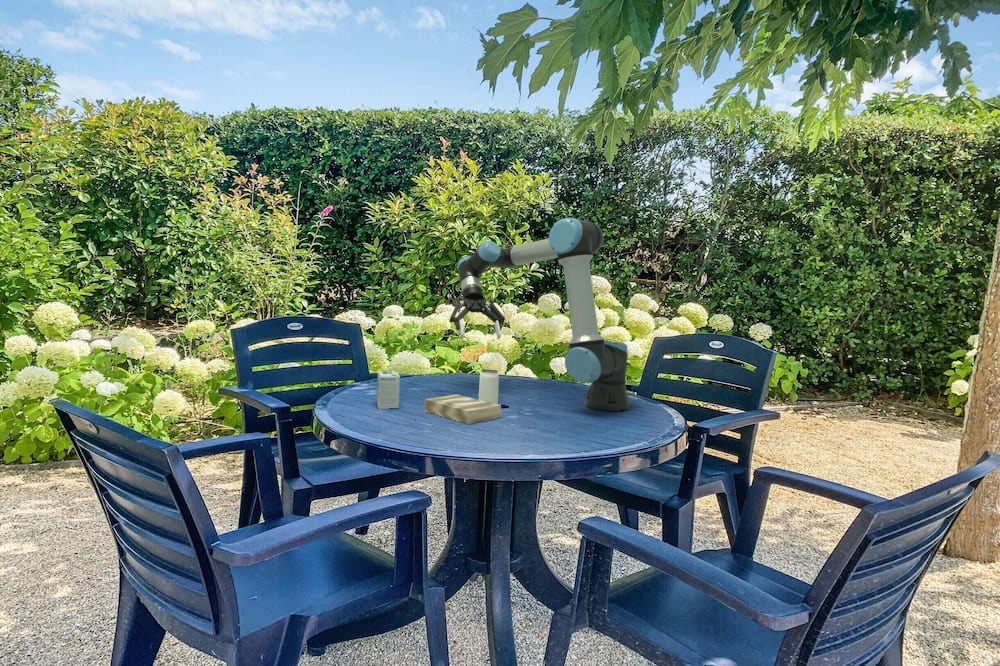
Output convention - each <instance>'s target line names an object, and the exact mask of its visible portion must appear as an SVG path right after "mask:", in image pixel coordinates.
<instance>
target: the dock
mask: <svg viewBox="0 0 1000 666" xmlns="http://www.w3.org/2000/svg"><path fill="white" fill-rule="evenodd" d="M423 409H424V411H423V412H424V413H426V412H428V413H427V414H430V413H431V414H430V415H433V414H434V415H433V416H437V415H438V416H437V417H440V416H442V417H441V418H444V417H446V418H445V419H447V418H449V419H448V420H451V419H452V420H451V421H454V420H456V421H455V422H458V421H459V422H458V423H461V422H462V424H465V425H468V424H469V425H473V424H477V422H478V423H481V422H482V421H483V422H486V421H491V419H492V420H496V419H501V414H502V413H501V411H502V405H501V404H495V403H491V402H486V401H482V400H479V398H478V399H477V398H473V397H469V396H465V395H460V394H451V395H446V396H439V397H433V398H425V399H424V408H423Z"/></svg>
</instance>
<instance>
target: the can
mask: <svg viewBox="0 0 1000 666" xmlns="http://www.w3.org/2000/svg"><path fill="white" fill-rule="evenodd" d="M499 378H500V375H499V372H498V370H496V369H481V372H480V374H479V384H478V386H479V387H478V388H479V389H478V400H482V401H486V402H491V403H495V404H498V403H499V402H498V401H499V384H500V383H499V382H500V379H499Z"/></svg>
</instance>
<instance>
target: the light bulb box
mask: <svg viewBox="0 0 1000 666" xmlns="http://www.w3.org/2000/svg"><path fill="white" fill-rule="evenodd" d="M376 372H377V373H376V376H377V378H376V404H377V408H379V409H378V410H390V409H389V408H400V384H401V383H400V381H401V376H400V374H399V373H398V371H397V370H377V371H376Z"/></svg>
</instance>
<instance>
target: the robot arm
mask: <svg viewBox="0 0 1000 666" xmlns="http://www.w3.org/2000/svg"><path fill="white" fill-rule="evenodd" d="M603 242H604V232H603V231H602V228H600V226H599V225H598V224H597V223H595V222H592V221H589V220H583V219H582V220H581V219H577V218H575V217H569V218H568V217H566V218H561V219H559V220H557V221H556V222H555V223H554V225H553V226H552V227H551V228H550V231H549V234H548V238H544V239H540V240H536V241H531V242H528V243H523V244H519V245H515V246H509V247H505V248H504V247H503V248H501V247H499V246H498V244H497V243H496V242H493V241H491V240H486V241H485V242H484V243H483V244H480V246H479V247H478V248H477V250H475V251H474V253H473V254H472V255H469V256H468V255H467V256H464V257H462V258H460V259H459V260H458V261H457V274H458V278H459V282H460V286H461V292H462V300H461V299H460V298H457V299H456V301H455V306H454V309H453V311H452V313H451V315H450V317H449V323H453V324H454V326H455V329H456V331H458V332H459V338H460V340H462V339H463V338H464V336H465V333H464V327H463V320H462V319H463V318H464V317H465V316H466V315H468V313H469V312H470V313H472V314H473V313H480V314H482V315H484V316H486V317H487V318H488V319H489V320H491V322H493V323H494V325H493V326H494V329H495V335H496V338H497V340H501V336H502V332H501V331H502V329H503V327H502V324H504V323H505V320H506V317H505V316H504V315H503V314H502V312H501V311H500V310H499V308H497V306H496V305H495V304H494V301H493V300H492V299H490V300H489V301H486V300H485V298H484V294H483V293H484V292H483V289H482V284H481V280H480V276H481V275H482V274H483V273H484V272H486V270H487V269H488V268H497V269H499V268H500V269H501V268H502V269H514V268H517V267H518V266H521V265H522V266H523V265H527V264H532V263H537V262H542V261H546V260H547V261H548V260H552V259H556V258H557V262H558V263H559V265H560V264H561V266H563V273H564V281H565V288H566V298H567V303H568V312H569V319H570V326H571V333H572V338H571V339H570V340H569V342H568V346H569V347H568V348H569V351H568V352H567V354H566V355H565V359H564V366H565V370H566V372H567V374H568V375H569V376H570V377H571V378H572V379H573V380H574V381H577V382H579V383H591V384H590V386H589V389H588V392H587V393H586V394H587V395H586V397H585V407H586V408H587V407H588V408H589V409H590V408H591V409H594V410H597V409H598V411H605V410H606V411H608V412H621V411H620V410H623V411H627V410H629V409H630V399H629V396H628V395H629V394H628V391H627V387H626V381H627V380H626V379H627V367H628V366H627V365H628V355H629V354H628V344H627V343H625V342H619V341H618V342H617V341H612V340H605V338H604V337H603V336H602V335H600V333H599V327H598V320H597V319H598V318H597V310H596V304H595V296H594V290H593V283H592V275H591V274H592V273H591V266H590V262H591V261H592V259H593V258H594V254H595V253H597V252H598V251H599V250H600V249H601V248H602V245H603V244H604V243H603ZM461 307H464V309H462V311H461V312H459V314H458V311H459V309H460V308H461ZM457 314H458V315H457ZM628 408H629V409H628ZM626 409H627V410H626Z"/></svg>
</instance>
